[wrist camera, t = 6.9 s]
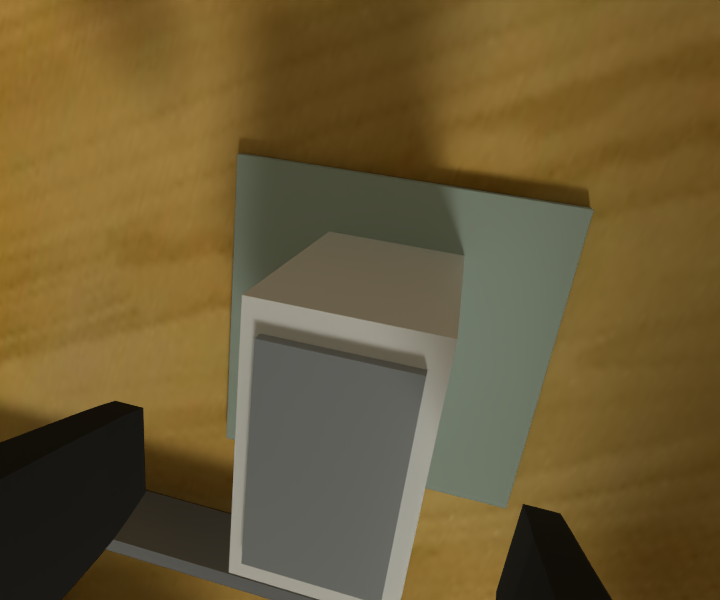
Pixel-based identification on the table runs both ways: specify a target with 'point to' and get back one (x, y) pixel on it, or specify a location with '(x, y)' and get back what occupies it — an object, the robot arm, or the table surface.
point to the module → (340, 414)
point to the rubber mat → (478, 299)
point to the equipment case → (187, 543)
